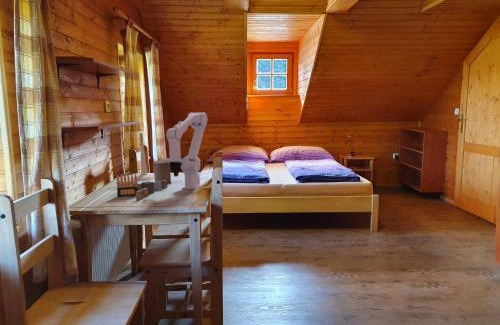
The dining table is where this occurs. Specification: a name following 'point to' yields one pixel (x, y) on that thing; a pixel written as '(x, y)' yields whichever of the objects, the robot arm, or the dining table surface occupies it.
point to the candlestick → (143, 163)
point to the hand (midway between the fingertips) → (176, 176)
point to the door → (156, 185)
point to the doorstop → (148, 186)
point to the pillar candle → (162, 171)
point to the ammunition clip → (127, 186)
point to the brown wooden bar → (144, 192)
